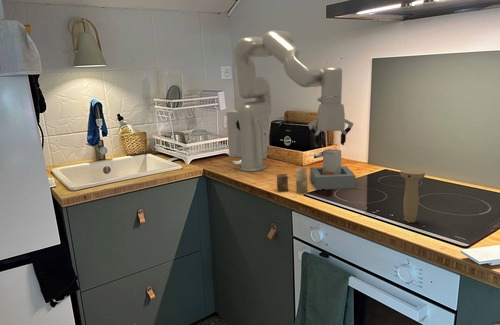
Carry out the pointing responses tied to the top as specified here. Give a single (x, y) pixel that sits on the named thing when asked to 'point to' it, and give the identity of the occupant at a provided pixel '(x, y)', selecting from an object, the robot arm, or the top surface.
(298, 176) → the grey brown upright block
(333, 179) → the socket block
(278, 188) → the short walnut dowel
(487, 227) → the top surface
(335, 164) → the skincare box
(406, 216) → the handle
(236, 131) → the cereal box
